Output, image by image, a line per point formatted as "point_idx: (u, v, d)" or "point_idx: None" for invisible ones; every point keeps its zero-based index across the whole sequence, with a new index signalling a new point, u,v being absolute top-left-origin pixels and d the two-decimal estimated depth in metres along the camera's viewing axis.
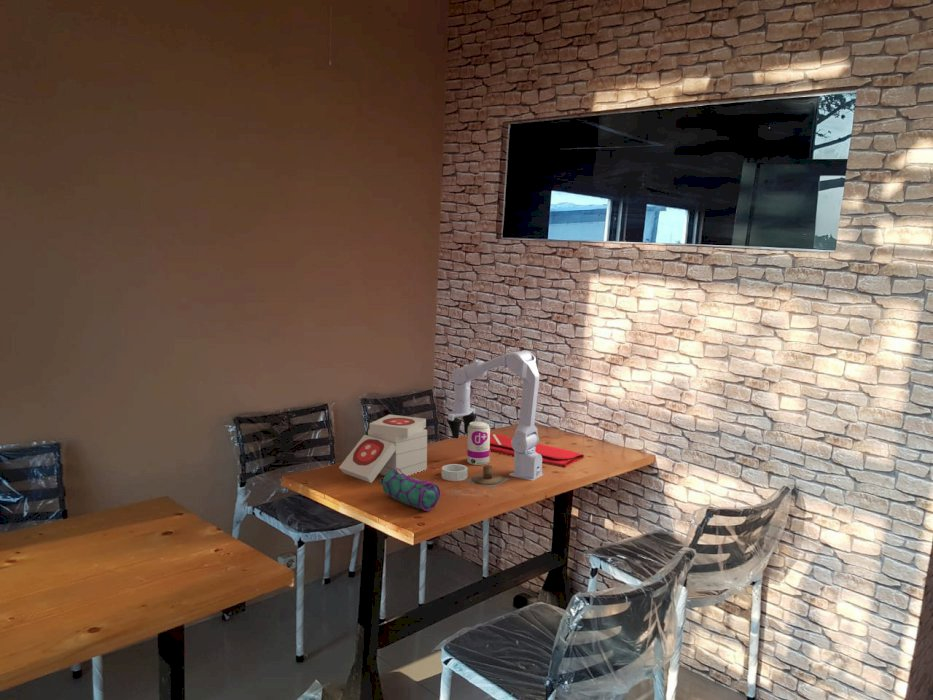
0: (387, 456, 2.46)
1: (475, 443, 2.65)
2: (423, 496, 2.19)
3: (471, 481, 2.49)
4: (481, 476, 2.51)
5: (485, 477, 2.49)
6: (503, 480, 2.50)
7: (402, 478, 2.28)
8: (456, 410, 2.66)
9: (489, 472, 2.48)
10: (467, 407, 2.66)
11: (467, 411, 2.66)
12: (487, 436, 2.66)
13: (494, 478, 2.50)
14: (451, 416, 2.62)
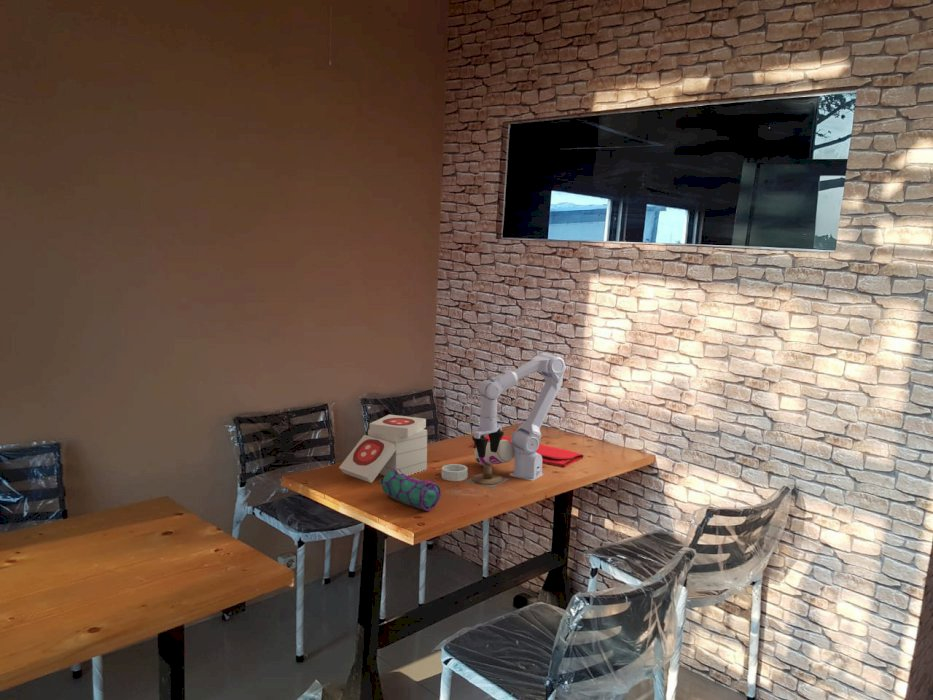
0: (387, 456, 2.46)
1: (490, 460, 2.59)
2: (424, 495, 2.19)
3: (471, 481, 2.49)
4: (481, 476, 2.51)
5: (485, 477, 2.49)
6: (503, 480, 2.50)
7: (402, 478, 2.28)
8: (482, 427, 2.45)
9: (489, 472, 2.48)
10: (494, 424, 2.45)
11: (494, 428, 2.45)
12: None
13: (494, 478, 2.50)
14: (477, 434, 2.41)
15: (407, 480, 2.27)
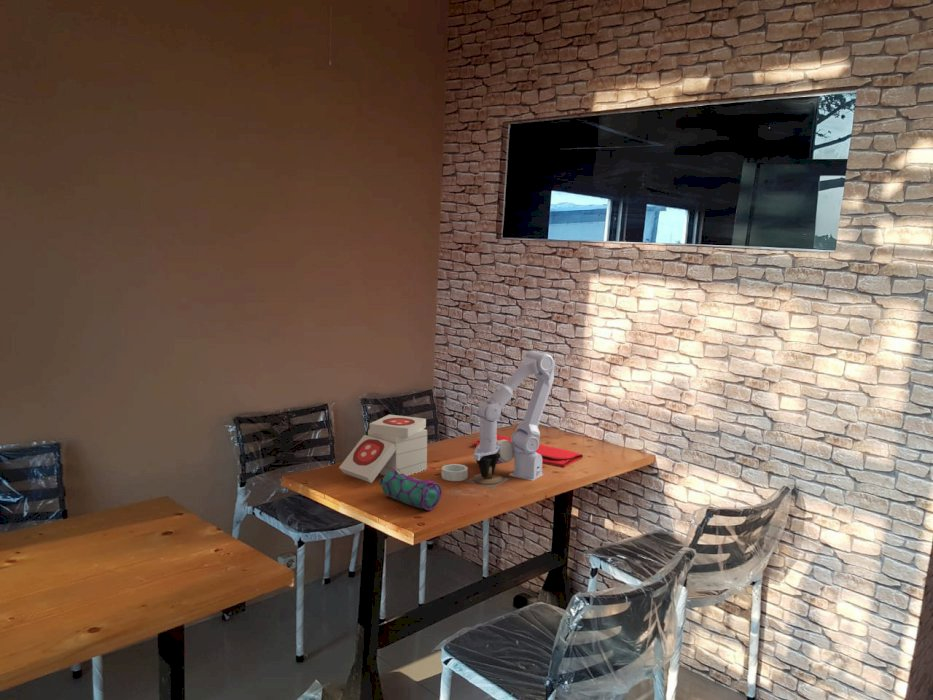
0: (387, 456, 2.46)
1: None
2: (426, 495, 2.20)
3: (471, 481, 2.49)
4: (481, 476, 2.51)
5: None
6: (503, 480, 2.50)
7: (402, 478, 2.28)
8: (482, 448, 2.46)
9: (489, 472, 2.48)
10: (494, 445, 2.46)
11: (494, 450, 2.47)
12: None
13: (494, 478, 2.50)
14: (477, 456, 2.42)
15: (407, 480, 2.27)
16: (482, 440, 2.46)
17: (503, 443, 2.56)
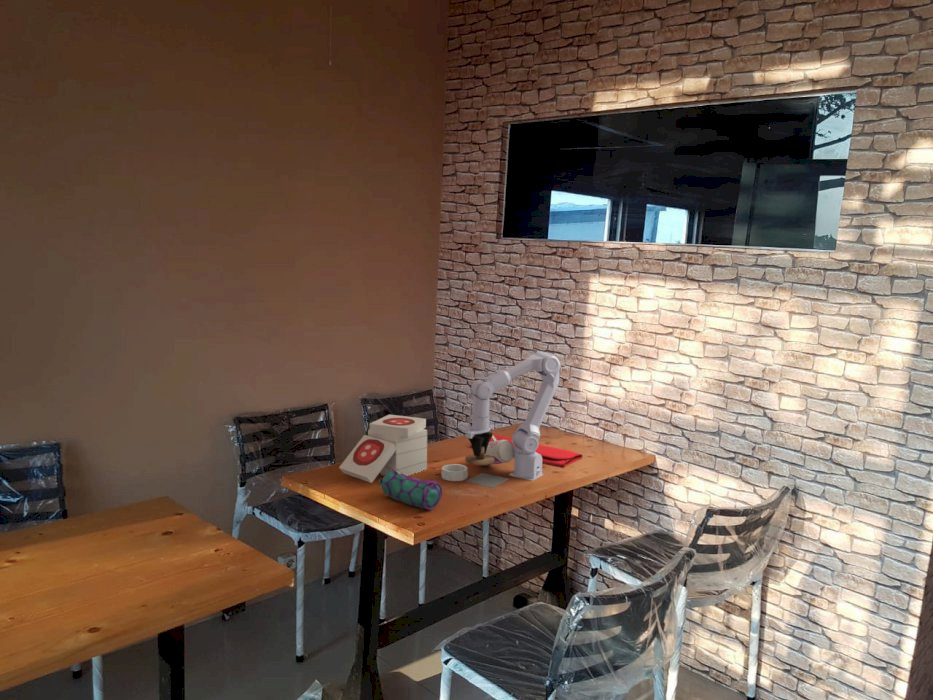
0: (387, 456, 2.46)
1: None
2: (427, 495, 2.20)
3: (471, 481, 2.49)
4: (473, 456, 2.51)
5: (478, 457, 2.48)
6: (503, 480, 2.50)
7: (402, 478, 2.28)
8: (474, 427, 2.46)
9: (481, 452, 2.48)
10: (486, 424, 2.46)
11: (486, 428, 2.46)
12: None
13: (486, 458, 2.49)
14: (469, 434, 2.42)
15: (408, 480, 2.27)
16: (475, 418, 2.46)
17: (503, 443, 2.56)
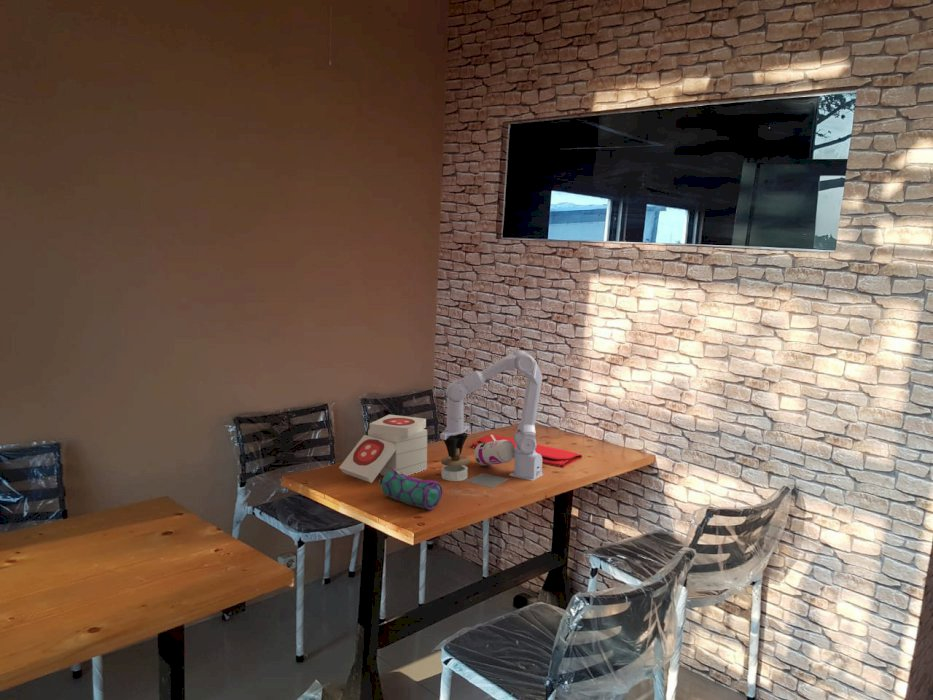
0: (387, 456, 2.46)
1: (490, 460, 2.59)
2: (427, 494, 2.20)
3: (471, 481, 2.49)
4: (449, 458, 2.53)
5: (453, 459, 2.51)
6: (503, 480, 2.50)
7: (402, 478, 2.28)
8: (449, 428, 2.49)
9: (457, 453, 2.50)
10: (461, 425, 2.48)
11: (461, 429, 2.49)
12: None
13: (462, 459, 2.52)
14: (443, 435, 2.45)
15: (408, 480, 2.28)
16: (449, 420, 2.48)
17: (503, 443, 2.56)
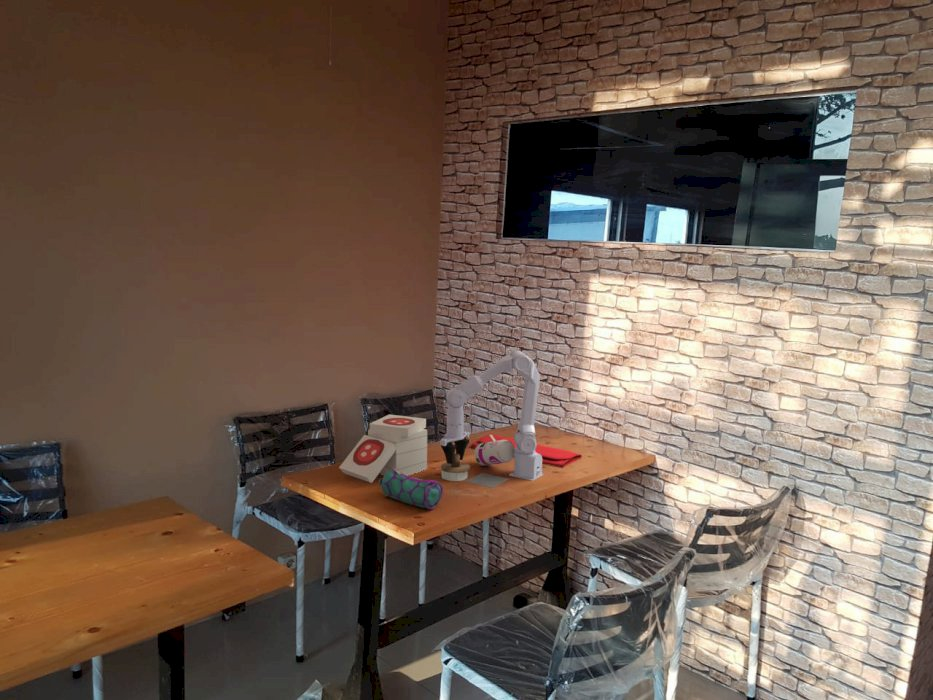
0: (387, 456, 2.46)
1: (490, 460, 2.59)
2: (428, 494, 2.20)
3: (471, 481, 2.49)
4: (449, 464, 2.54)
5: (453, 465, 2.51)
6: (503, 480, 2.50)
7: (403, 478, 2.28)
8: (449, 434, 2.49)
9: (457, 460, 2.51)
10: (461, 431, 2.49)
11: (461, 435, 2.49)
12: None
13: (462, 466, 2.52)
14: (443, 441, 2.45)
15: (408, 480, 2.28)
16: (449, 426, 2.48)
17: (503, 443, 2.56)
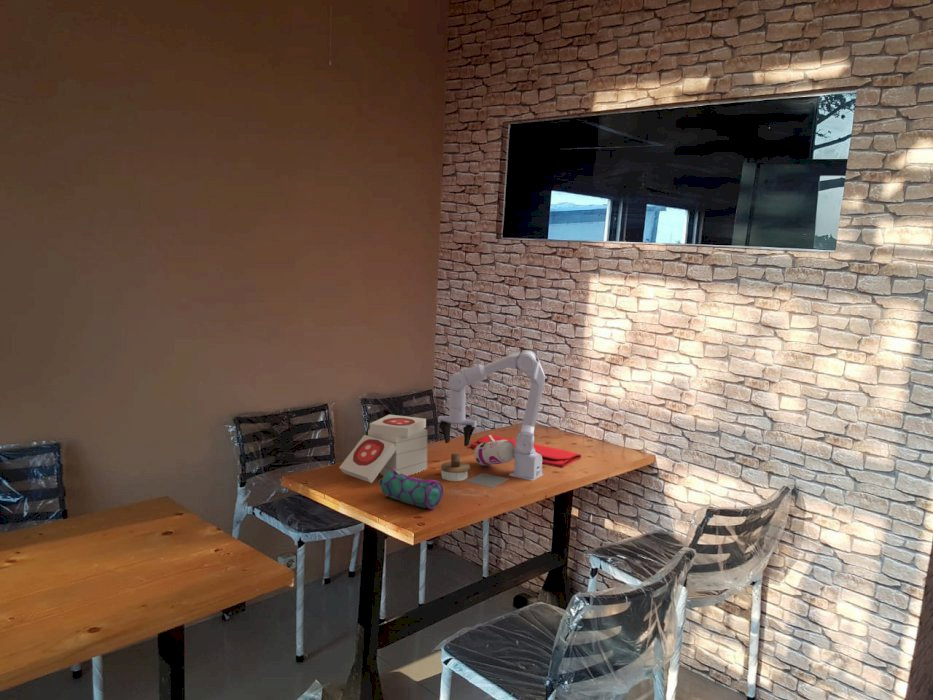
0: (387, 456, 2.46)
1: (490, 460, 2.59)
2: (429, 494, 2.20)
3: (471, 481, 2.49)
4: (449, 464, 2.54)
5: (453, 465, 2.51)
6: (503, 480, 2.50)
7: (403, 478, 2.28)
8: None
9: (457, 460, 2.51)
10: (452, 414, 2.54)
11: (452, 418, 2.55)
12: None
13: (462, 466, 2.52)
14: None
15: (408, 480, 2.28)
16: None
17: (503, 443, 2.56)
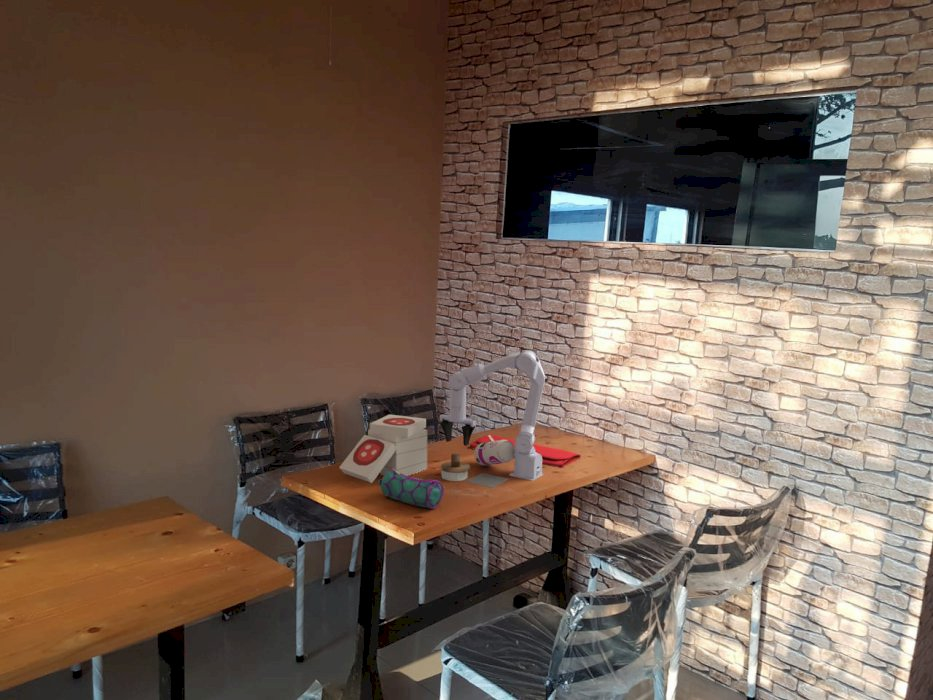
0: (387, 456, 2.46)
1: (490, 460, 2.59)
2: (430, 494, 2.21)
3: (471, 481, 2.49)
4: (449, 464, 2.54)
5: (453, 465, 2.51)
6: (503, 480, 2.50)
7: (403, 478, 2.28)
8: None
9: (457, 460, 2.51)
10: (452, 413, 2.56)
11: (452, 417, 2.56)
12: None
13: (462, 466, 2.52)
14: None
15: (408, 480, 2.28)
16: None
17: (503, 443, 2.56)
